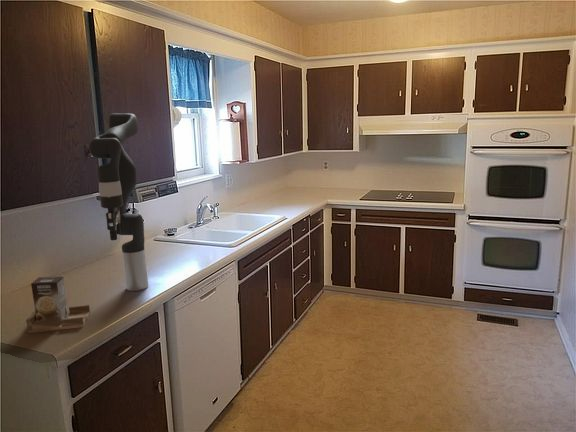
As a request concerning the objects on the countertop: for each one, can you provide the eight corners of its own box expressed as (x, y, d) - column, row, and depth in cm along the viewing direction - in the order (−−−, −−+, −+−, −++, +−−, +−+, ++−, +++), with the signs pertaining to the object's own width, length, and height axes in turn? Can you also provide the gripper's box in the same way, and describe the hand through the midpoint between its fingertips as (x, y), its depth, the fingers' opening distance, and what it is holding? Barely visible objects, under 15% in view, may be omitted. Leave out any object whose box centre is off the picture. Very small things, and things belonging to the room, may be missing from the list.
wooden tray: (39, 318, 166) (37, 306, 165) (90, 313, 170) (88, 300, 169) (28, 333, 155) (26, 320, 154) (83, 326, 159) (81, 314, 158)
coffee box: (36, 325, 158) (29, 283, 155) (44, 317, 164) (37, 277, 161) (62, 323, 159) (56, 282, 155) (69, 316, 165) (63, 275, 162)
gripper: (103, 191, 166) (108, 233, 169) (95, 197, 152) (101, 243, 156) (124, 190, 167) (128, 231, 171) (118, 196, 154) (123, 241, 157)
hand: (115, 236), depth 163 cm, fingers open, 8 cm apart
